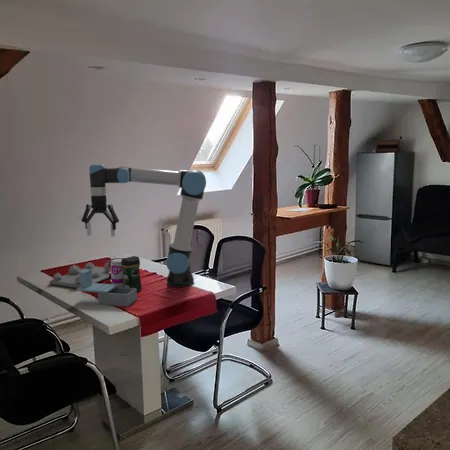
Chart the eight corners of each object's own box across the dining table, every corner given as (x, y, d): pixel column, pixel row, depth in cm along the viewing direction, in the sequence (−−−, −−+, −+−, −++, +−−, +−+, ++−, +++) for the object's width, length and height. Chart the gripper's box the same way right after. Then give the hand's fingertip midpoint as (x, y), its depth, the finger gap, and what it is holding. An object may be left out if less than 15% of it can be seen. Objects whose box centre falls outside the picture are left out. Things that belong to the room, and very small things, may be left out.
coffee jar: (134, 287, 248) (132, 254, 245) (143, 289, 243) (142, 256, 240) (120, 291, 241) (118, 257, 237) (129, 294, 236) (127, 259, 232)
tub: (137, 299, 227) (136, 288, 226) (128, 306, 218) (127, 294, 217) (108, 297, 231) (107, 286, 230) (98, 304, 222) (97, 292, 221)
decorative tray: (90, 269, 285) (89, 254, 283) (123, 274, 274) (122, 258, 272) (47, 285, 254) (46, 268, 252) (83, 291, 243) (82, 273, 241)
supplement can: (123, 289, 244) (121, 262, 242) (109, 288, 246) (107, 261, 243) (129, 284, 252) (128, 258, 250) (115, 284, 254) (114, 258, 251)
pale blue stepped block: (117, 286, 229) (116, 269, 227) (107, 292, 219) (106, 275, 217) (88, 284, 233) (87, 267, 232) (76, 290, 223) (75, 273, 221)
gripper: (124, 194, 231) (126, 235, 234) (80, 193, 237) (83, 233, 240) (117, 196, 224) (119, 238, 227) (72, 195, 230) (75, 236, 233)
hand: (101, 235), depth 234 cm, fingers open, 13 cm apart
